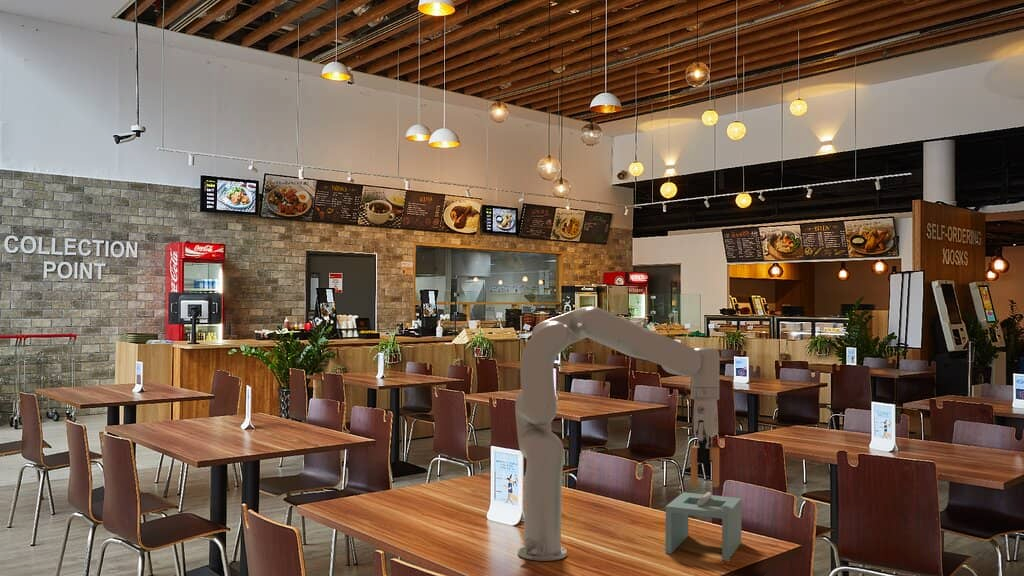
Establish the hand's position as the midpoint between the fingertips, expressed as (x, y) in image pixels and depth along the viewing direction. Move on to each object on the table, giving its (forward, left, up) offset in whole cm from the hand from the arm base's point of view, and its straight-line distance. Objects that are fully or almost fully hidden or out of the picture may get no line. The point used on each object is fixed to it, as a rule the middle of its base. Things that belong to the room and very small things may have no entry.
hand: (704, 461), depth 214 cm
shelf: (0, 0, -23) cm, 23 cm away
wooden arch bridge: (0, 0, -6) cm, 6 cm away
